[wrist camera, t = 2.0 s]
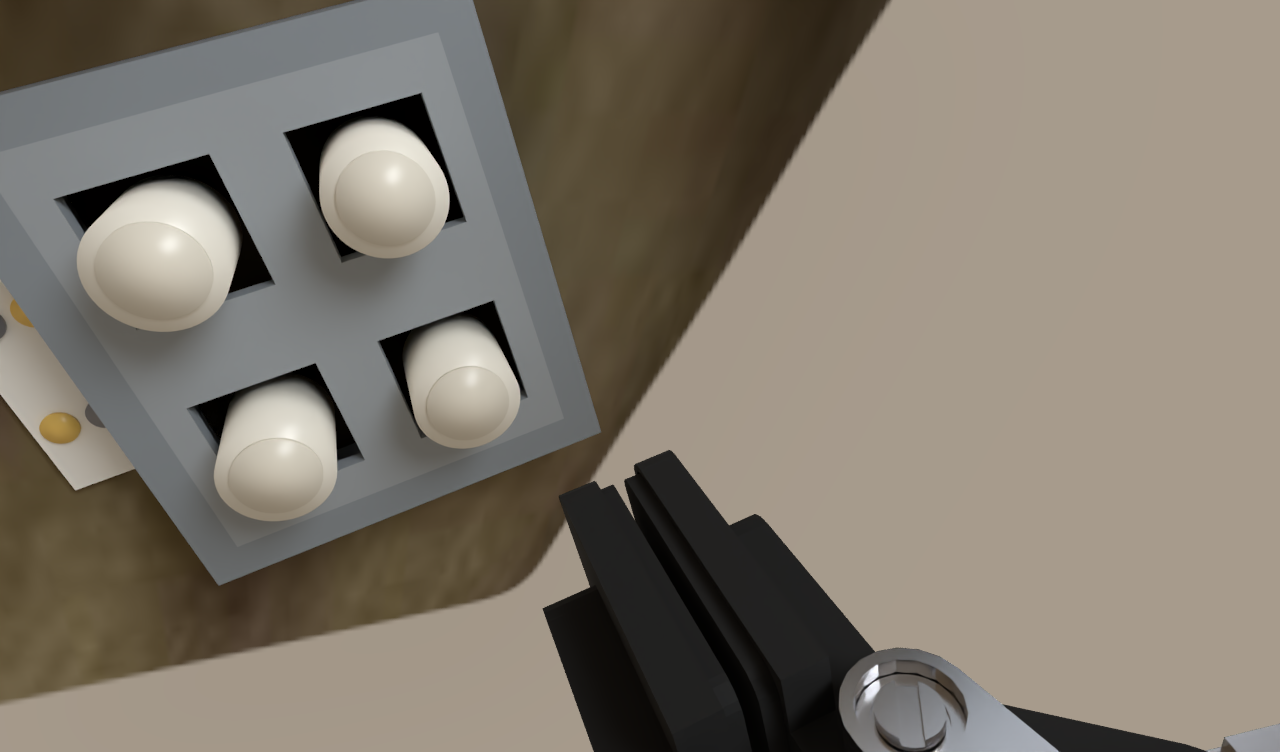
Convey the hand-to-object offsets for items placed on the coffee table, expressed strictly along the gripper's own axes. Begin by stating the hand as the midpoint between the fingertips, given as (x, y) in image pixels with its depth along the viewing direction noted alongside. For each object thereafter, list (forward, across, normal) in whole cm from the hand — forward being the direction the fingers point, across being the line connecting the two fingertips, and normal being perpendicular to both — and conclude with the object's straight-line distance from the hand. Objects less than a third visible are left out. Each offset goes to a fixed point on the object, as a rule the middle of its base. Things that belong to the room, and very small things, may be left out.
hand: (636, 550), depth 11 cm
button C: (+24, +9, -1) cm, 26 cm away
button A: (+24, +2, -1) cm, 24 cm away
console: (+27, +6, +3) cm, 28 cm away
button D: (+24, +9, +7) cm, 27 cm away
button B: (+24, +2, +7) cm, 25 cm away
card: (+27, +17, +3) cm, 32 cm away
